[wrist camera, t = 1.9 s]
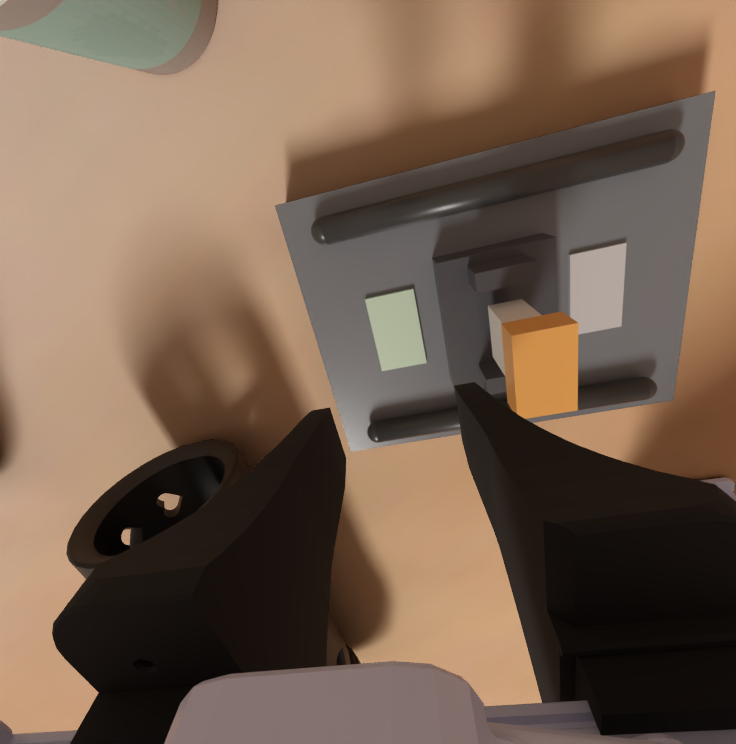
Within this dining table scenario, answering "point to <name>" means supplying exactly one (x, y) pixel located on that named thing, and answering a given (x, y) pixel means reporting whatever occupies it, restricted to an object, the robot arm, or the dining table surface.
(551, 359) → the breaker lever
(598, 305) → the breaker panel
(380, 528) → the dining table surface
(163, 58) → the coffee cup
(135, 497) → the muzzle brake
